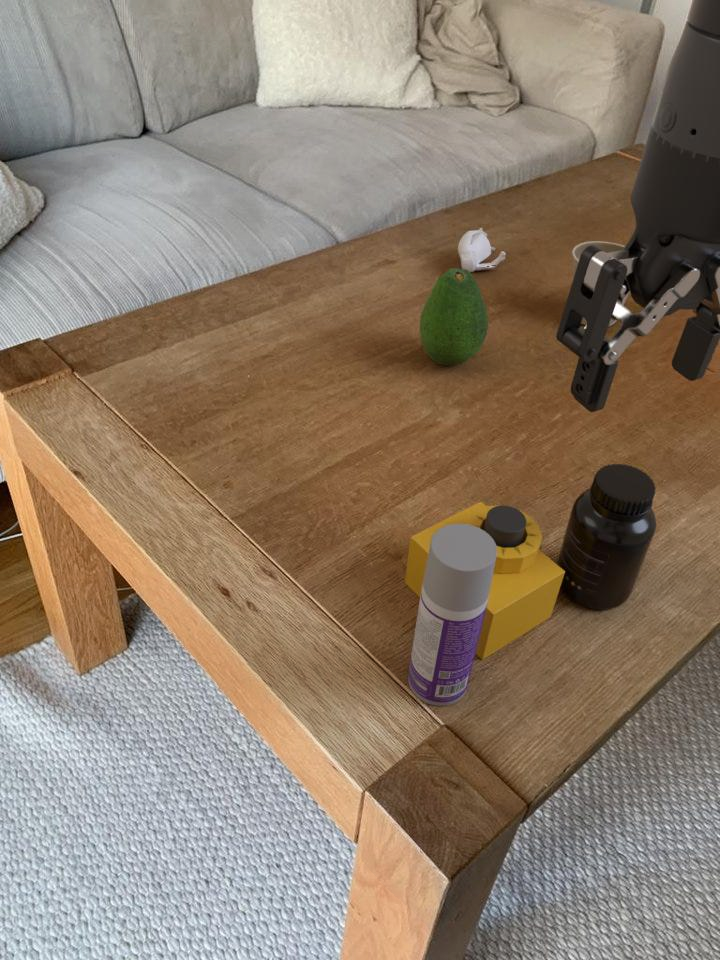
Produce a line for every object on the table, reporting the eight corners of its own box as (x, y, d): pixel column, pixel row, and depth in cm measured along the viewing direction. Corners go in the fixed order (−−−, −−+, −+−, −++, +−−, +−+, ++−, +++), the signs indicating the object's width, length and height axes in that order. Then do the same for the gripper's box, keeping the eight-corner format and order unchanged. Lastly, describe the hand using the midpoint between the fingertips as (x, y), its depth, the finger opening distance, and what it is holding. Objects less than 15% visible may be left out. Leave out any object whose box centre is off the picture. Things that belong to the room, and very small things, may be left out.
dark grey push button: (530, 538, 66) (535, 522, 65) (502, 553, 65) (506, 538, 64) (503, 515, 68) (507, 500, 67) (475, 530, 67) (478, 514, 66)
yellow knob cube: (555, 614, 70) (575, 553, 65) (482, 660, 66) (497, 598, 61) (476, 544, 76) (488, 483, 71) (404, 582, 72) (412, 520, 67)
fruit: (494, 361, 100) (511, 270, 92) (457, 388, 95) (472, 294, 87) (440, 337, 103) (452, 247, 96) (402, 361, 99) (412, 269, 91)
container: (472, 664, 65) (503, 530, 56) (461, 713, 62) (493, 579, 52) (415, 650, 66) (436, 515, 56) (401, 697, 63) (422, 562, 53)
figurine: (519, 244, 121) (500, 276, 113) (481, 259, 125) (460, 291, 116) (503, 207, 119) (483, 237, 110) (465, 223, 122) (442, 254, 114)
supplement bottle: (584, 544, 76) (617, 444, 69) (645, 588, 73) (688, 487, 65) (536, 578, 73) (565, 476, 65) (598, 625, 69) (637, 523, 61)
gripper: (679, 174, 37) (590, 451, 48) (880, 138, 42) (759, 394, 53) (572, 120, 42) (514, 383, 52) (765, 94, 47) (676, 336, 58)
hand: (637, 388), depth 53 cm, fingers open, 8 cm apart
